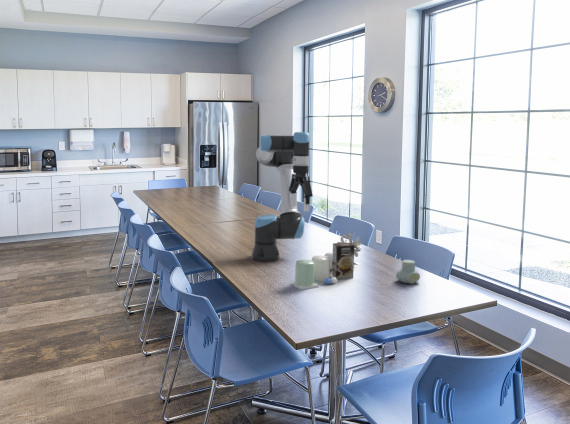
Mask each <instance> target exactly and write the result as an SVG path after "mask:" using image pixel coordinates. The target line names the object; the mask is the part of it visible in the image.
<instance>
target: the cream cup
mask: <svg viewBox="0 0 570 424" xmlns="http://www.w3.org/2000/svg"><path fill="white" fill-rule="evenodd" d="M311 260H312V261H314V263H315V281H317V282H318V281H319V282H324V280H325V279H326V278H330V277H331V276H330V275H331V270H330V258H329V257H327V256H324V255H314V256H312V258H311ZM330 279H331V278H330Z"/></svg>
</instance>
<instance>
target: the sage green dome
mask: <svg viewBox="0 0 570 424" xmlns="http://www.w3.org/2000/svg"><path fill="white" fill-rule="evenodd" d="M294 275H295V277H294V281H295V284H297V285H299V286H312V285H313V284H314V283H316V280H315V263H314V261H312V259H298V260H296V262H295V274H294Z"/></svg>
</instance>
